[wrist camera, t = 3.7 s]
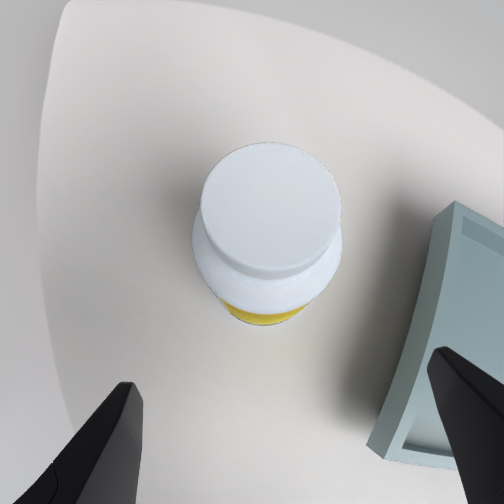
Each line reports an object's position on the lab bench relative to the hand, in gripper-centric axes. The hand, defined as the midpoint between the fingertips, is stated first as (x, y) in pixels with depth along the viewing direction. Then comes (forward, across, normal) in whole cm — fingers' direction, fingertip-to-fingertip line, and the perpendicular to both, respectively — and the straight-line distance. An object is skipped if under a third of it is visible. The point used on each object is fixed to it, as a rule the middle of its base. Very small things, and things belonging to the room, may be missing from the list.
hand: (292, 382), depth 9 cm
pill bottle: (+12, 0, +5) cm, 13 cm away
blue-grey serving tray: (+6, -16, +10) cm, 20 cm away
